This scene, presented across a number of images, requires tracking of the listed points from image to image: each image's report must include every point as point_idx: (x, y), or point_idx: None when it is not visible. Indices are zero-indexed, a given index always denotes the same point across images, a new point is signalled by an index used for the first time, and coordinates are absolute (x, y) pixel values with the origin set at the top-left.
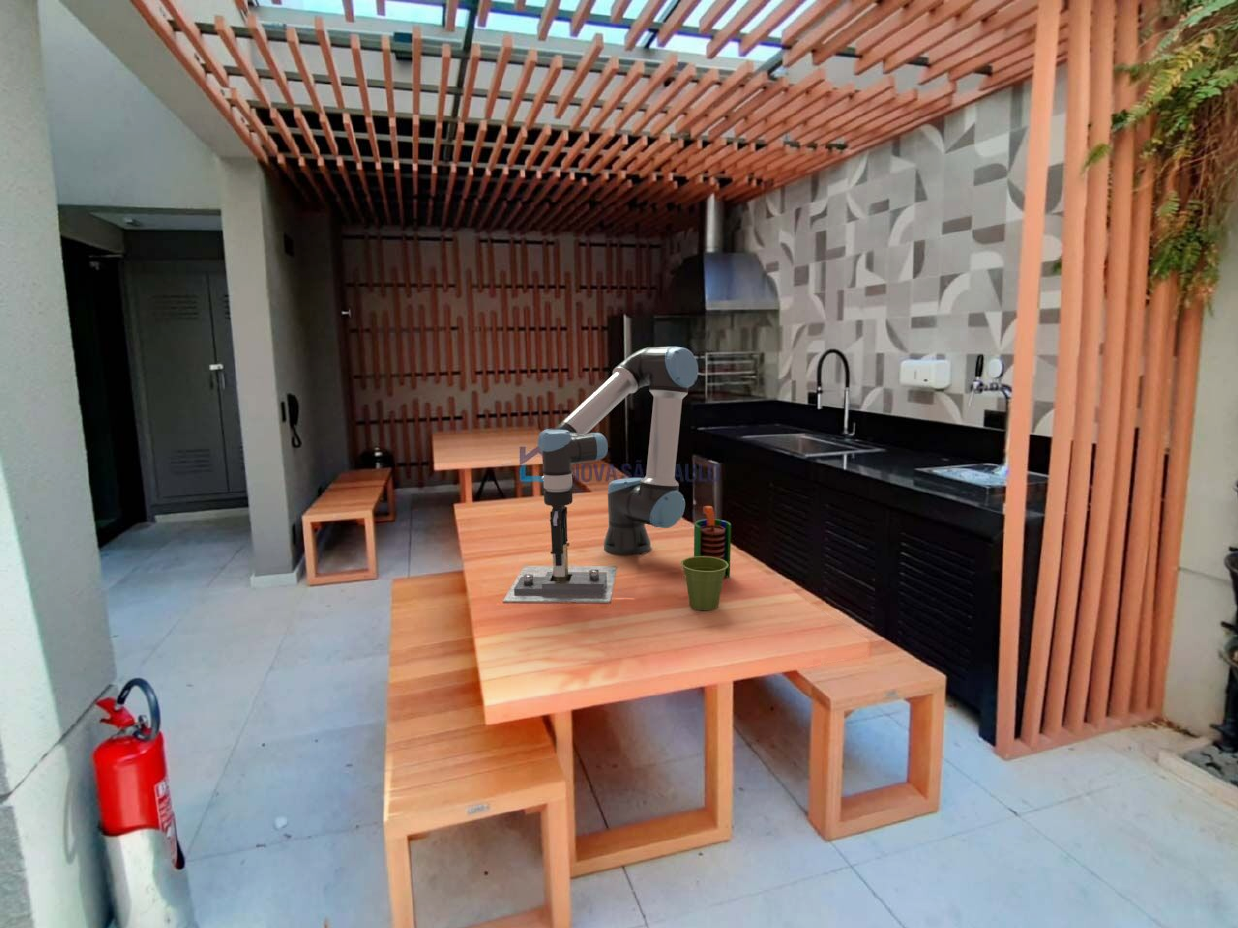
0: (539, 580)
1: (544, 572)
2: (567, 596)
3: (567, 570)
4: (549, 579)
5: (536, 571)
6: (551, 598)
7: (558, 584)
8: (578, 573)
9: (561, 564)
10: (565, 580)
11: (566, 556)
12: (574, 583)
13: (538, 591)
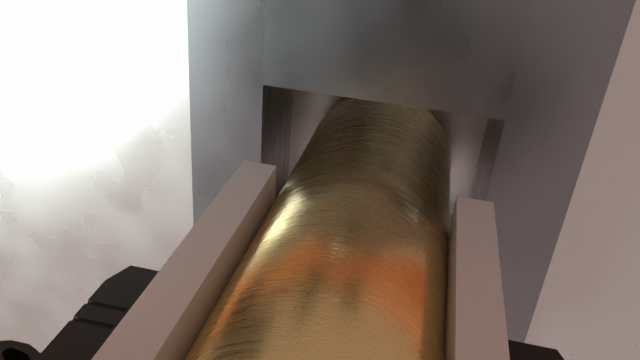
0: None
1: (32, 266)
2: (623, 104)
3: (384, 183)
4: None
5: (25, 314)
6: (629, 244)
7: (556, 235)
8: (235, 9)
9: (517, 348)
10: (432, 159)
11: (370, 330)
12: (603, 61)
13: None
